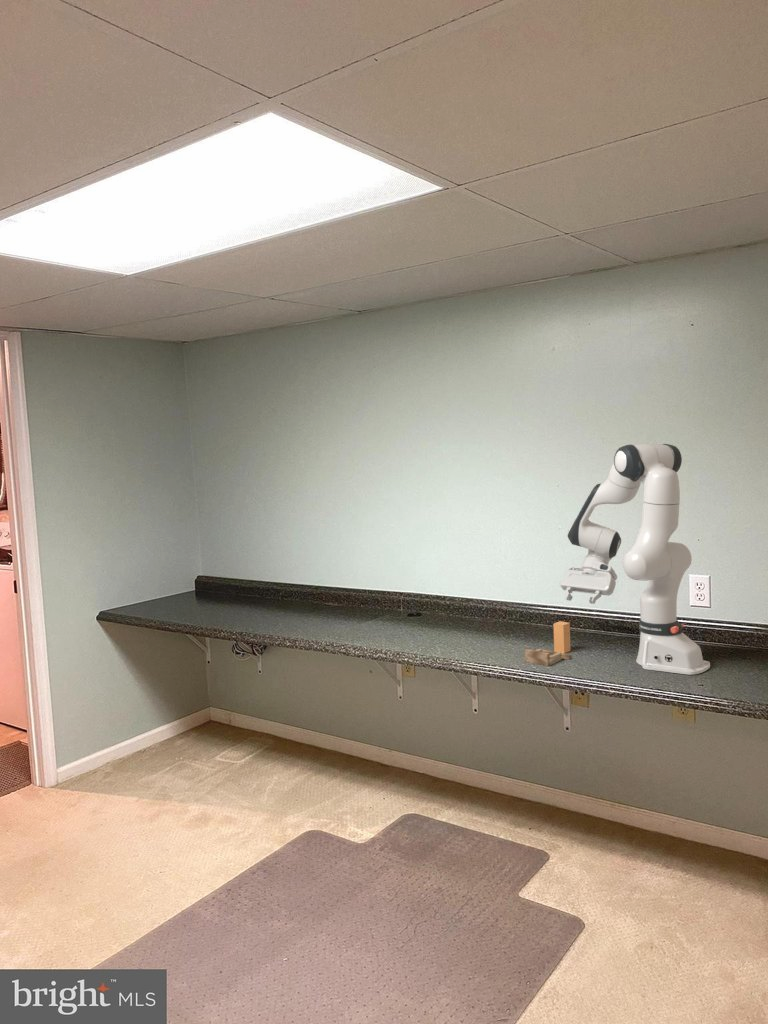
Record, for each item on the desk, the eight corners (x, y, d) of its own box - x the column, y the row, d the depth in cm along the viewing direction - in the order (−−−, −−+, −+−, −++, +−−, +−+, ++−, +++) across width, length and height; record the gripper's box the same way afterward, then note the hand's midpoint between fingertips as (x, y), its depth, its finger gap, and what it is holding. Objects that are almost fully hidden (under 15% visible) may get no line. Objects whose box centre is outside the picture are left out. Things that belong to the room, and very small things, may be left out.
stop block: (570, 650, 271) (569, 622, 270) (564, 653, 268) (563, 625, 267) (560, 649, 274) (559, 621, 273) (554, 651, 271) (553, 623, 270)
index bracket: (561, 659, 261) (561, 648, 260) (547, 666, 255) (547, 654, 254) (539, 655, 267) (539, 644, 266) (525, 661, 261) (525, 650, 261)
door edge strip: (571, 658, 262) (570, 654, 262) (568, 659, 261) (568, 656, 261) (540, 652, 270) (540, 649, 270) (538, 653, 269) (538, 650, 269)
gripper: (564, 562, 289) (551, 592, 283) (615, 567, 275) (601, 599, 269) (571, 572, 293) (558, 602, 287) (621, 577, 278) (608, 609, 272)
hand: (579, 601), depth 278 cm, fingers open, 8 cm apart
